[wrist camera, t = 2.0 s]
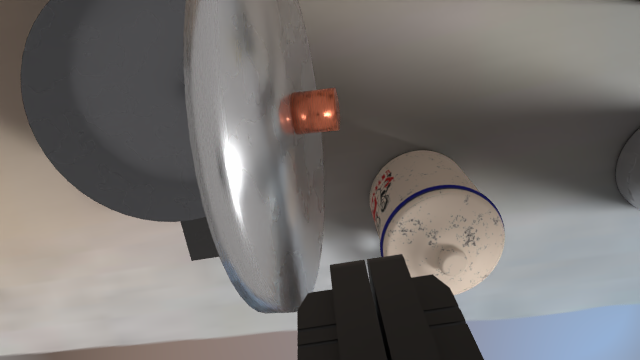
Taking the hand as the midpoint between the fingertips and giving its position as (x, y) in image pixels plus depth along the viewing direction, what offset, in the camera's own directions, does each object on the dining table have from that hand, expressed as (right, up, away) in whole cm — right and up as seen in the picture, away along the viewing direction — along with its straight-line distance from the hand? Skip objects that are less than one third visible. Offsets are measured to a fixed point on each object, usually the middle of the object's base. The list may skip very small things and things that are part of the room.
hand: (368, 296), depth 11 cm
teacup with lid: (+8, 0, +36) cm, 37 cm away
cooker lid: (-4, +5, +13) cm, 14 cm away
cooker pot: (-11, +11, +30) cm, 34 cm away
